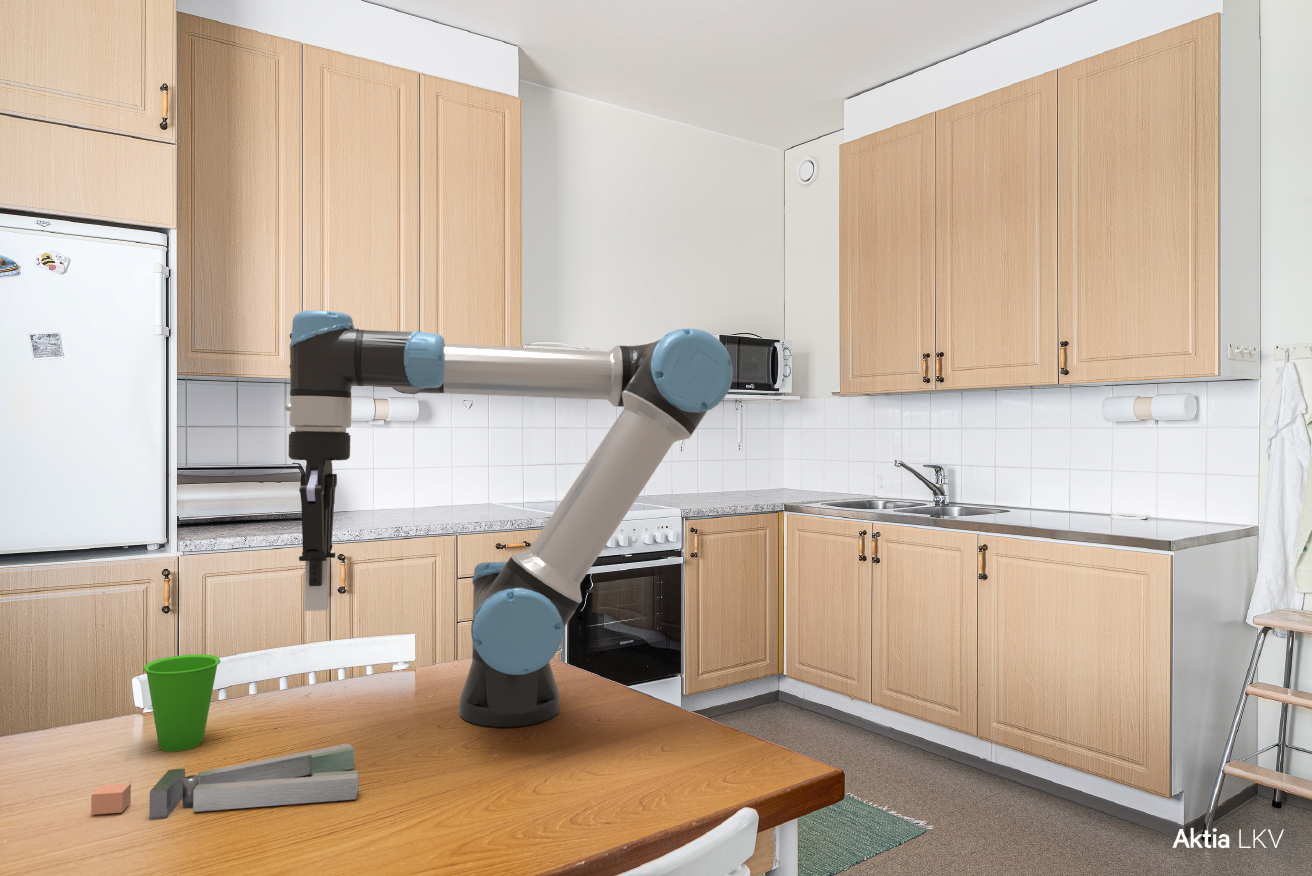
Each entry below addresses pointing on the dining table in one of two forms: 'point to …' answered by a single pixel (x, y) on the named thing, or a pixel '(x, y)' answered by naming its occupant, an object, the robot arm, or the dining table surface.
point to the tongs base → (248, 792)
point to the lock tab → (110, 799)
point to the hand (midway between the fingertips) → (316, 609)
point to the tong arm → (284, 766)
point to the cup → (181, 698)
